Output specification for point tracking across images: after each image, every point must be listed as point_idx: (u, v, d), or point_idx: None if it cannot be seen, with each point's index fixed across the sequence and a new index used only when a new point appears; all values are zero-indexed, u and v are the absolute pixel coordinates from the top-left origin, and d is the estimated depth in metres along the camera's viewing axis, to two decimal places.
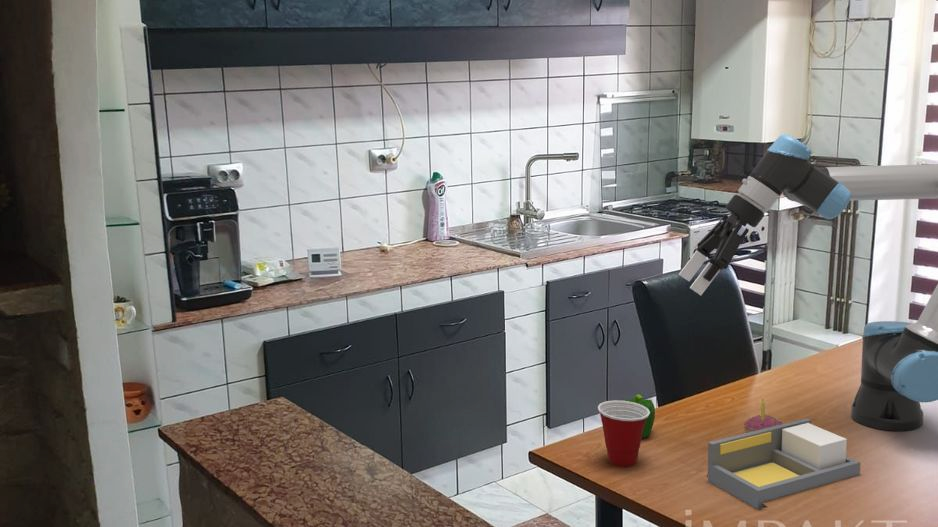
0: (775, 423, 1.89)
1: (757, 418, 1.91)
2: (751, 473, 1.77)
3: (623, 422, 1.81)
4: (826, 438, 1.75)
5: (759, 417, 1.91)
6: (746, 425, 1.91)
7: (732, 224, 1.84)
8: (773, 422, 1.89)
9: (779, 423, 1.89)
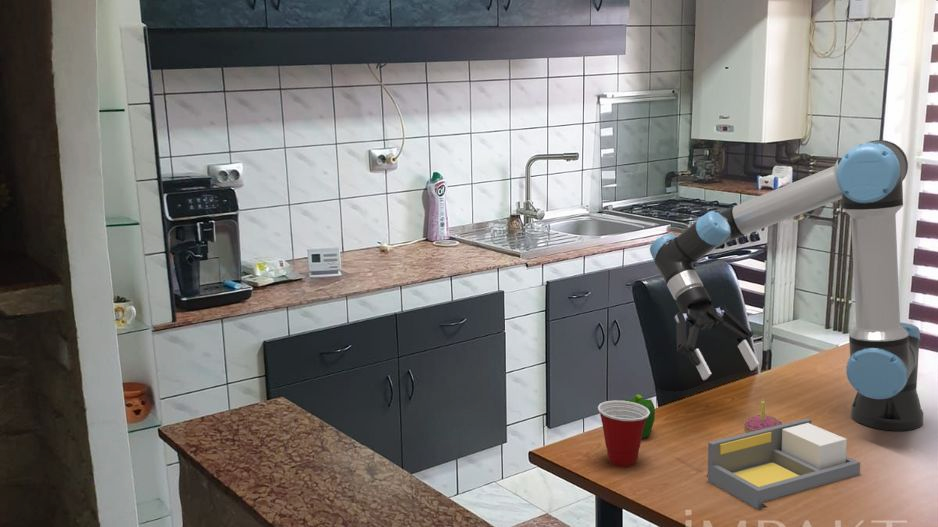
0: (775, 423, 1.89)
1: (757, 418, 1.91)
2: (751, 473, 1.77)
3: (623, 422, 1.81)
4: (826, 438, 1.75)
5: (759, 417, 1.91)
6: (746, 425, 1.91)
7: None
8: (773, 422, 1.89)
9: (779, 423, 1.89)
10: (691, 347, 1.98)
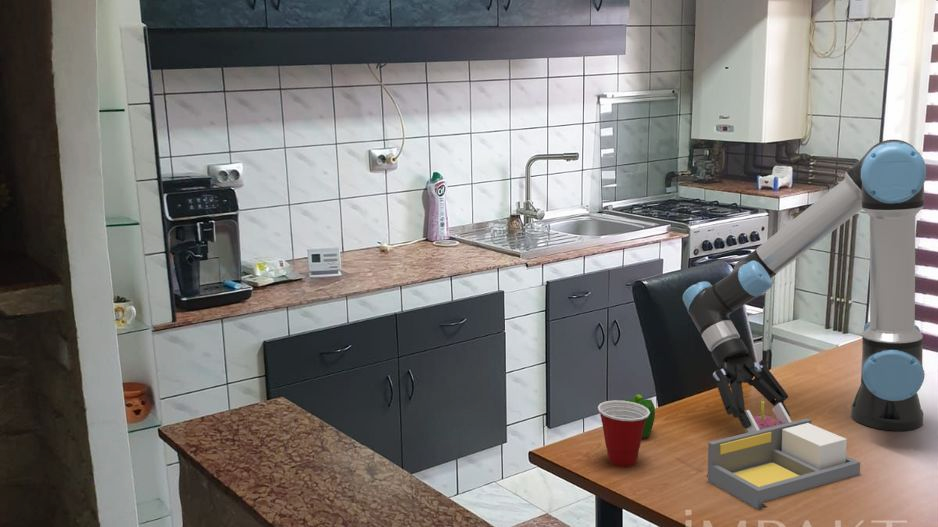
0: (775, 423, 1.89)
1: (757, 418, 1.91)
2: (751, 473, 1.77)
3: (623, 422, 1.81)
4: (826, 438, 1.75)
5: (759, 417, 1.91)
6: None
7: None
8: (773, 422, 1.89)
9: (779, 423, 1.89)
10: (742, 409, 1.88)
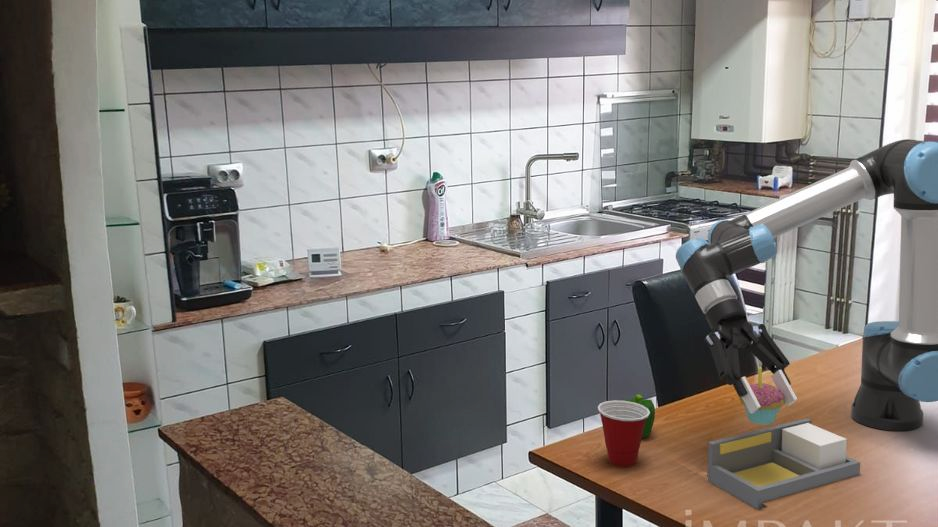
0: (773, 391, 1.70)
1: (754, 386, 1.72)
2: (751, 473, 1.77)
3: (623, 422, 1.81)
4: (826, 438, 1.75)
5: (756, 385, 1.73)
6: None
7: None
8: (771, 390, 1.70)
9: (778, 392, 1.71)
10: (737, 375, 1.70)
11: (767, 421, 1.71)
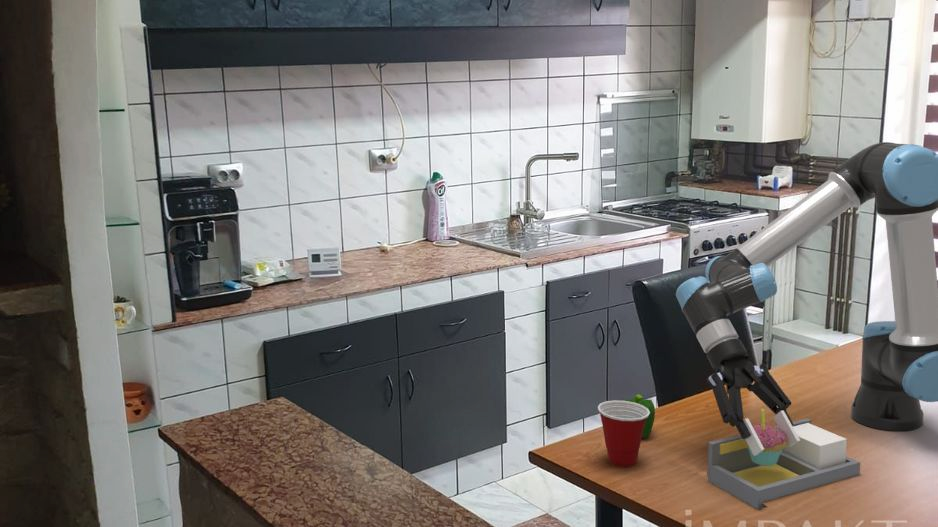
0: (776, 433, 1.70)
1: (756, 427, 1.72)
2: (751, 473, 1.77)
3: (623, 422, 1.81)
4: (826, 438, 1.75)
5: (759, 426, 1.73)
6: None
7: None
8: (774, 432, 1.70)
9: (781, 433, 1.71)
10: (740, 417, 1.70)
11: (770, 462, 1.71)
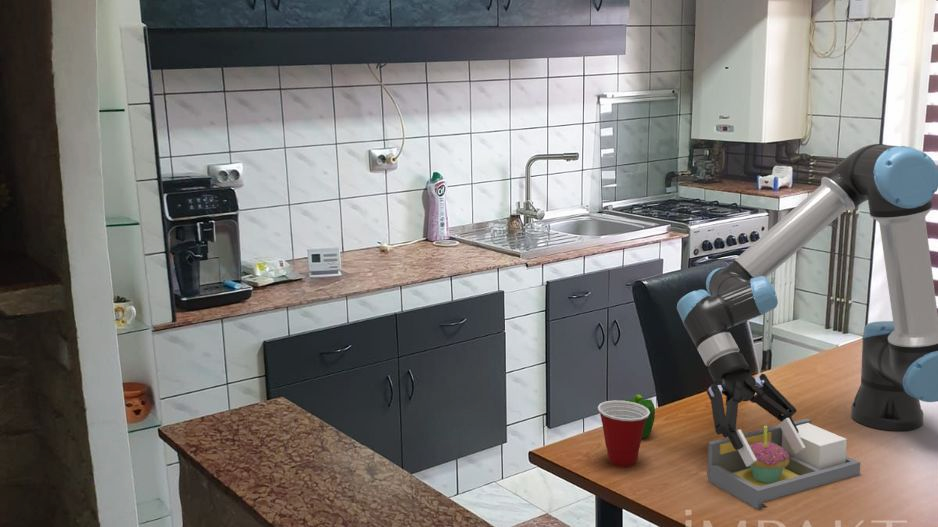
0: (778, 451, 1.71)
1: (759, 444, 1.73)
2: (751, 473, 1.77)
3: (623, 422, 1.81)
4: (826, 438, 1.75)
5: (761, 443, 1.73)
6: None
7: None
8: (776, 449, 1.71)
9: (783, 451, 1.72)
10: (732, 428, 1.70)
11: (771, 480, 1.71)
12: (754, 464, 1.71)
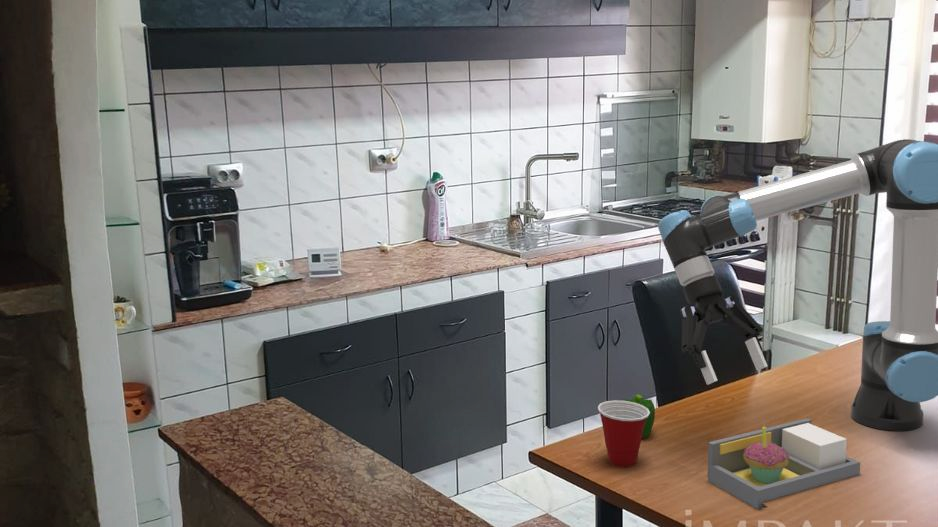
0: (778, 451, 1.71)
1: (758, 445, 1.73)
2: (751, 473, 1.77)
3: (623, 422, 1.81)
4: (826, 438, 1.75)
5: (760, 444, 1.73)
6: (746, 453, 1.73)
7: None
8: (775, 450, 1.71)
9: (782, 451, 1.72)
10: (698, 349, 1.80)
11: (771, 480, 1.71)
12: (754, 465, 1.71)
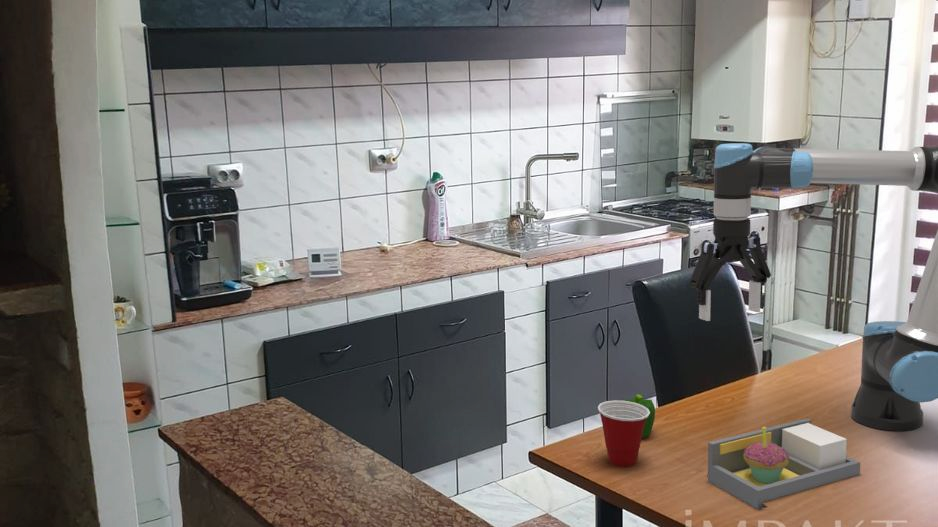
0: (778, 451, 1.71)
1: (758, 445, 1.73)
2: (751, 473, 1.77)
3: (623, 422, 1.81)
4: (826, 438, 1.75)
5: (760, 444, 1.73)
6: (746, 453, 1.73)
7: None
8: (775, 450, 1.71)
9: (782, 451, 1.72)
10: (704, 288, 1.85)
11: (771, 480, 1.71)
12: (754, 465, 1.71)
